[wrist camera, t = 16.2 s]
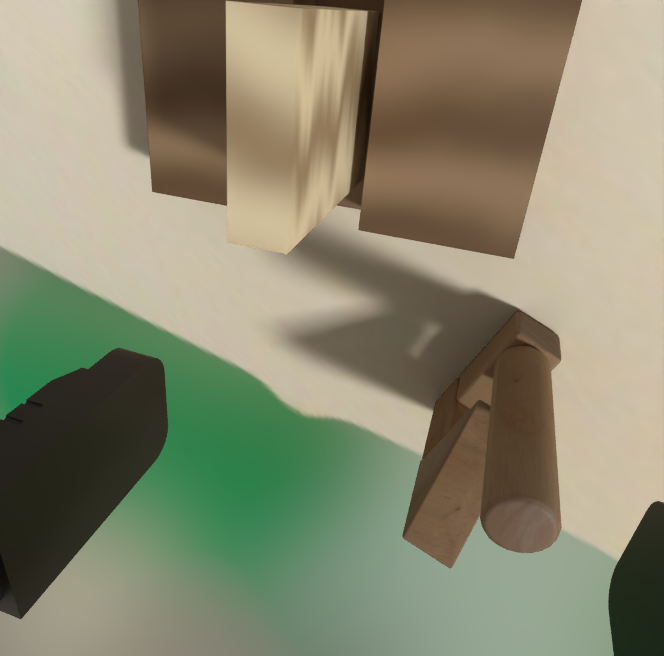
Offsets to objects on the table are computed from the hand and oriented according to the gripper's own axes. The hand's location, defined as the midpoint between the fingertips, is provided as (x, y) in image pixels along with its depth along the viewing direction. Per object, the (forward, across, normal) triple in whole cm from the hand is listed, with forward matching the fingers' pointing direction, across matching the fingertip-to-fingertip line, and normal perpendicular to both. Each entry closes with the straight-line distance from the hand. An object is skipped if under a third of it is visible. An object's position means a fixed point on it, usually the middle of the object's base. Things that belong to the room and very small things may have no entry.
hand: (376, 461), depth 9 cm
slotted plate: (+31, +9, -1) cm, 32 cm away
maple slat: (+30, +9, 0) cm, 31 cm away
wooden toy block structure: (+31, -4, +17) cm, 36 cm away
